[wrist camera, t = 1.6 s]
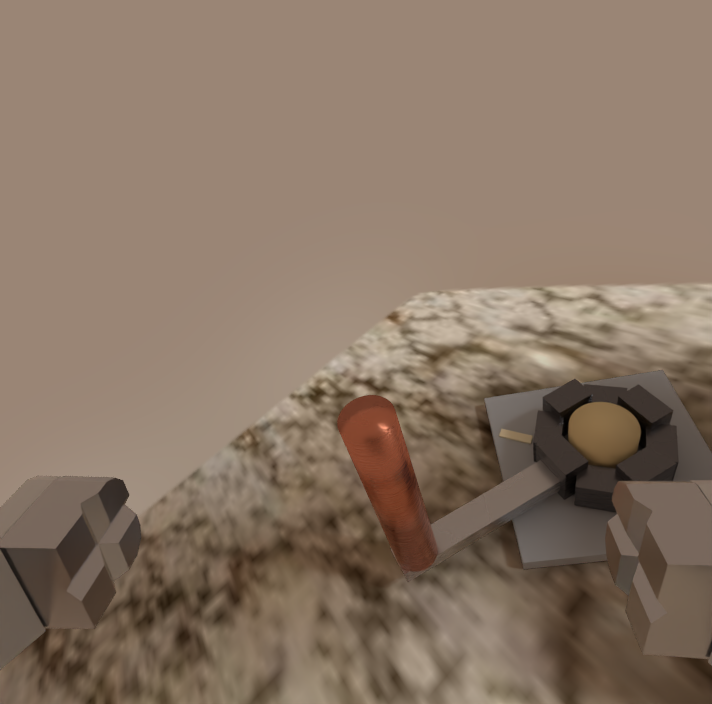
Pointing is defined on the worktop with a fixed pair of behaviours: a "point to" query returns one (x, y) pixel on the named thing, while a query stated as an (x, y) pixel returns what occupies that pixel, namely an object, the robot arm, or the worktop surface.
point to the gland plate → (562, 516)
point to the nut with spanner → (515, 495)
